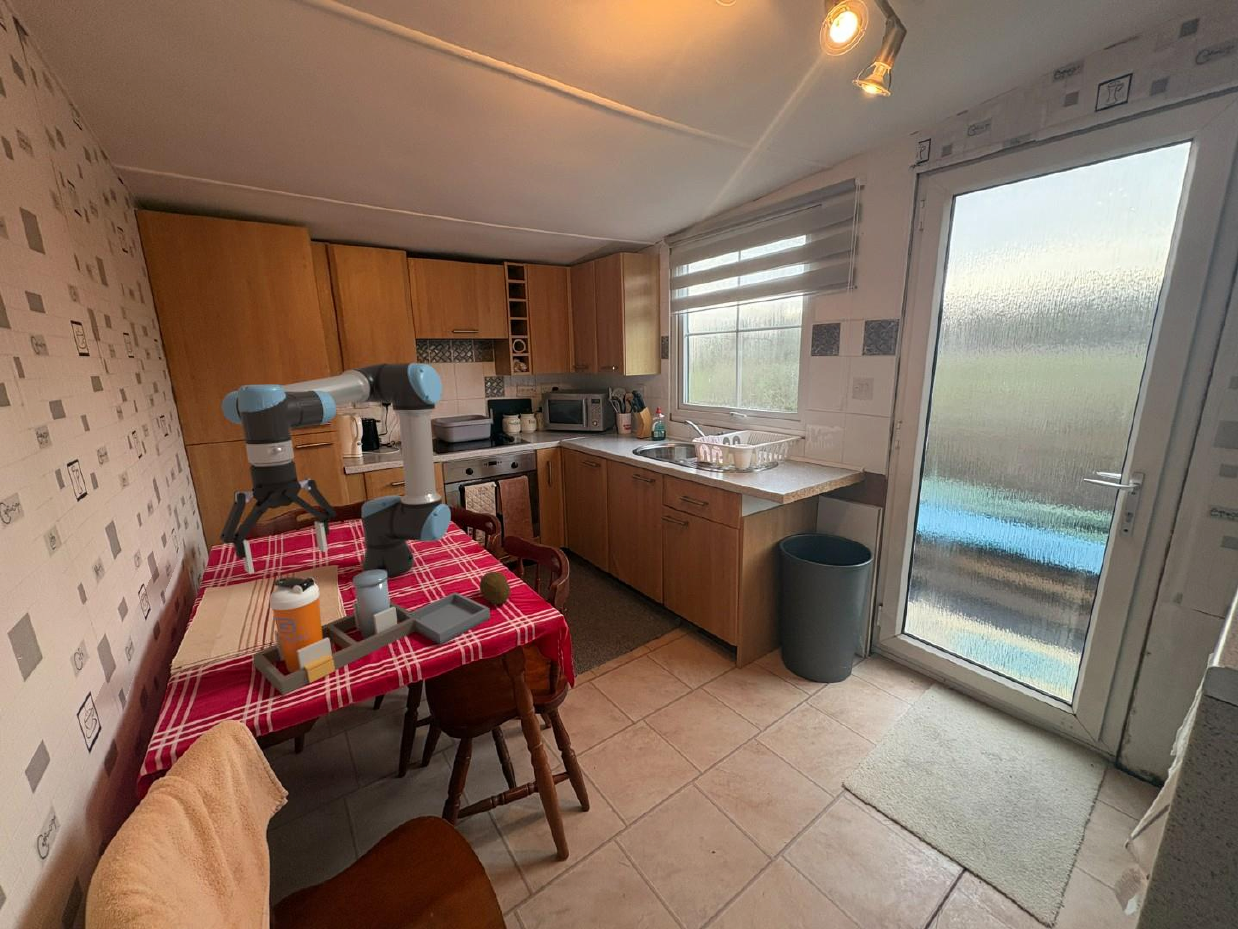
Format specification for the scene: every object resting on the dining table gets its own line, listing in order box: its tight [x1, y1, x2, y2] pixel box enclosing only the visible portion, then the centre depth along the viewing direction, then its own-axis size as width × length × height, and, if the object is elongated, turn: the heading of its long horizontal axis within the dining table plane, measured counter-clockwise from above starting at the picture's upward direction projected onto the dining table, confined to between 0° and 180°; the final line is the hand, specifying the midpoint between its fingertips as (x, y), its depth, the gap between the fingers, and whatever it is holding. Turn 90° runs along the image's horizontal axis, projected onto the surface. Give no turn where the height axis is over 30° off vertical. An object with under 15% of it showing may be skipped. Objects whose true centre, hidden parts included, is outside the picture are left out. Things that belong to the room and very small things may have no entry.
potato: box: [479, 571, 511, 605], centre depth 134 cm, size 8×12×8 cm, turn 42°
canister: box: [352, 570, 390, 639], centre depth 118 cm, size 7×7×15 cm
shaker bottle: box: [269, 576, 323, 673], centre depth 105 cm, size 9×9×20 cm
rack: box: [252, 599, 420, 696], centre depth 112 cm, size 16×30×7 cm, turn 144°
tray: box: [406, 591, 491, 646], centre depth 123 cm, size 15×15×3 cm
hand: (288, 560), depth 101 cm, fingers open, 13 cm apart
